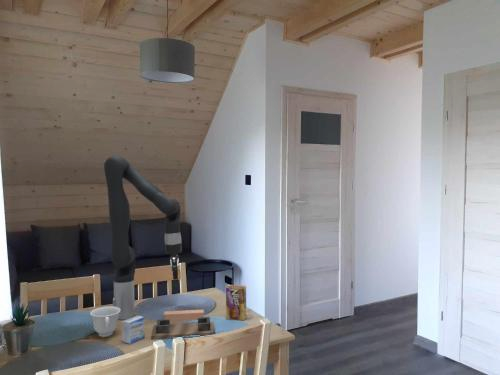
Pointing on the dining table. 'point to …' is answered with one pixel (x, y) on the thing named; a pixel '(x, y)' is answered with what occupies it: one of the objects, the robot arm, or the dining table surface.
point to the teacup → (105, 320)
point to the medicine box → (133, 329)
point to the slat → (183, 315)
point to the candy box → (236, 302)
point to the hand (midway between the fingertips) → (175, 277)
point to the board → (182, 329)
